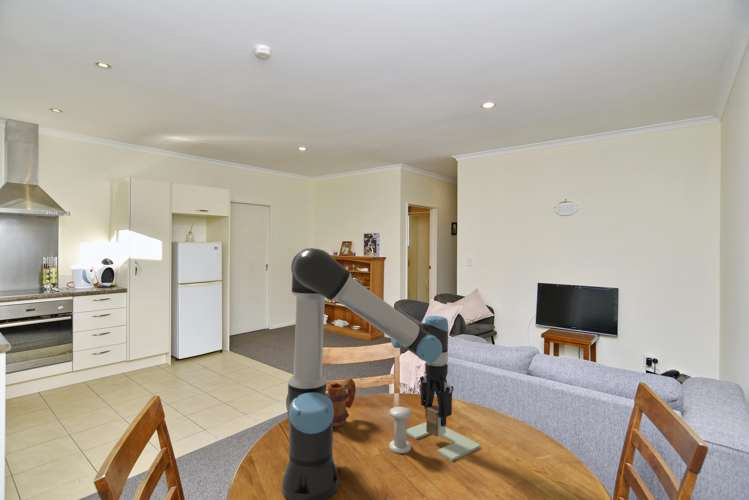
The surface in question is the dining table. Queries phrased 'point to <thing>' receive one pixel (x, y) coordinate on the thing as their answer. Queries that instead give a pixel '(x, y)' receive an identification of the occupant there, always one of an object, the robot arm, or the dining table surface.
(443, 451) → the notched board
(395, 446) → the knob
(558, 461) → the dining table surface
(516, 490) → the dining table surface
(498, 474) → the dining table surface
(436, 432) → the block
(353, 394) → the mug
